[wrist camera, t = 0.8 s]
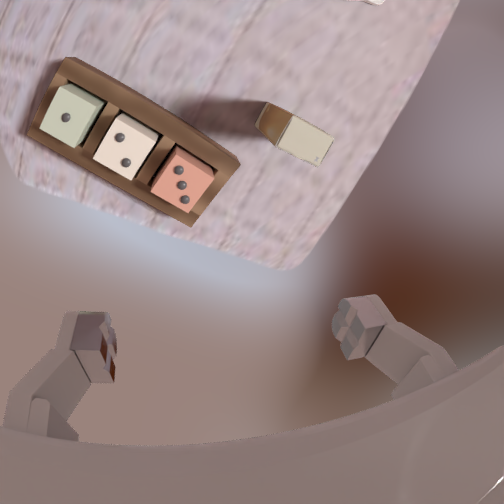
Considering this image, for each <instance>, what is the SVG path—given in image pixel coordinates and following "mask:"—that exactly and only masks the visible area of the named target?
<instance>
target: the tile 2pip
mask: <svg viewBox="0 0 504 504" xmlns="http://www.w3.org/2000/svg"><path fill="white" fill-rule="evenodd" d="M158 135H159V133H158V132H157V131H155V130H153V129H152V128H150V127H148V126H147V125H145V124H143V123H142V122H140V121H138V120H137V119H135V118H133V117H132V116H130V115H128V114H127V113H125V112H123V113H122V114H121V115H119V116H118V117H117V118H116V119H115V120H114V122H113V124H112V125H111V127H110V129H109V131H108V132H107V134H106V136H105V137H104V139H103V141H102V143H101V145H100V146H99V148H98V150H97V152H96V154H95V156H94V157H93V159H94V160H96V161H98V162H99V163H101V164H103V165H105V166H106V167H108V168H110V169H112V170H113V171H115V172H117V173H119V174H120V175H122V176H124V177H126V178H127V179H129V180H132V179H133V177H134V175H135V174H136V172H137V170H138V169H139V167H140V166H141V164H142V163H143V161H144V159H145V158H146V156H147V155H148V153H149V152H150V150H151V149H152V147H153V146H154V144H155V143H156V141H157V138H158Z"/></svg>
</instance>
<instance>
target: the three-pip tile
mask: <svg viewBox="0 0 504 504" xmlns="http://www.w3.org/2000/svg"><path fill="white" fill-rule="evenodd" d="M213 180H214V175H213V171H212V167H211V166H210V165H209V164H207V163H205V162H204V161H202V160H201V159H199V158H198V157H196V156H195V155H193V154H192V153H190V152H188V151H187V150H185V149H184V148H182V147H181V146H179V145H176V146H175V148H174V149H173V150H172V152H171V153H170V155H169V156H168V158H167V159H166V160H165V162H164V163H163V165H162V166H161V168H160V169H159V171H158V172H157V174H156V175H155V177H154V179H153V183H152V188H151V192H152V193H154V194H155V195H157V196H159V197H161V198H162V199H164V200H166V201H168V202H169V203H171V204H173V205H175V206H176V207H178V208H180V209H182V210H183V211H185V212H187V213H189V212H190V210H191V209H192V208H193V206H194V205H195V204H196V202H197V201H198V200H199V198H200V197H201V196H202V194H203V193H204V192H205V190H206V189H207V188H208V187H209V185H210V184H211V183H212V181H213Z"/></svg>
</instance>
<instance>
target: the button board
mask: <svg viewBox="0 0 504 504" xmlns="http://www.w3.org/2000/svg"><path fill="white" fill-rule="evenodd" d="M73 83H76V84H77V85H79V86H81V87H83V88H85V89H86V90H88V91H90V92H92V93H94V94H95V95H97V96H99V97H101V98H102V99H104V100H106V101H108V104H107V105H106V107H105V108H104V110H103V112H102V113H101V115H100V117H99V119H98V120H97V122H96V124H95V126H94V127H93V129H92V131H91V133H90V135H89V137H88V138H86V139H84V140H83V141H82V142H81V143H80V144H79V145H77V146H76V147H75V148H73V147H71V146H69V145H68V144H66V143H64V142H62V141H61V140H59V139H57V138H55V137H54V136H52V135H50V134H48V133H47V132H45V131H43V130H41V129H39V128H40V126H41V124H42V121H43V119H44V117H45V115H46V113H47V111H48V108H49V106H50V104H51V102H52V100H53V98H54V96H55V95H56V93H57V91H58V89H59V87H60V86H64V85H68V84H73ZM121 110H123V111H125V112H126V113H128V114H130V115H132V116H133V117H135V118H137V119H138V120H140V121H142V122H143V123H145V124H146V125H148V126H150V127H151V128H153V129H155V130H156V131H158V132H160V133H161V134H162V136H161V137H160V139H159V140H158V142H157V143H156V145H155V146H154V148H153V149H152V151H151V152H150V154H149V155H148V157H147V158H146V160H145V161H144V163H143V164H142V166H141V168H140V169H138V170H137V172H136V174H135V175H134V177H133V179H132V180H129V179H127V178H126V177H124V176H122V175H120V174H119V173H117V172H115V171H113V170H112V169H110V168H108V167H106V166H105V165H103V164H101V163H99V162H98V161H96V160H94V159H93V157H94V156H95V154H96V152H97V150H98V148H99V146H100V145H101V143H102V141H103V139H104V137H105V136H106V134H107V132H108V131H109V129H110V127H111V125H112V124H113V122H114V120H115V119H116V118H117V117H118V115H119V114H120V112H121ZM27 136H29V137H31V138H33V139H34V140H36V141H38V142H40V143H41V144H43V145H45V146H47V147H48V148H50V149H52V150H54V151H55V152H57V153H59V154H61V155H62V156H64V157H66V158H68V159H69V160H71V161H73V162H75V163H76V164H78V165H80V166H82V167H84V168H85V169H87V170H89V171H91V172H92V173H94V174H96V175H98V176H99V177H101V178H103V179H105V180H107V181H108V182H110V183H112V184H114V185H115V186H117V187H119V188H121V189H123V190H124V191H126V192H128V193H130V194H131V195H133V196H135V197H137V198H139V199H140V200H142V201H144V202H146V203H148V204H149V205H151V206H153V207H155V208H157V209H158V210H160V211H162V212H164V213H166V214H167V215H169V216H171V217H173V218H175V219H176V220H178V221H180V222H182V223H184V224H185V225H187V226H189V227H192V226H193V224H194V223H195V222H196V220H197V219H198V218H199V216H200V215H201V214H202V213H203V211H204V210H205V209H206V207H207V206H208V205H209V204H210V202H211V201H212V200H213V198H214V197H215V196H216V195H217V193H218V192H219V191H220V190H221V188H222V187H223V186H224V185H225V183H226V182H227V181H228V180H229V178H230V177H231V176H232V175H233V174H234V172H235V171H236V170H237V169H238V167H239V166H240V165H241V164H240V163H239V161H238V159H237V157H236V156H235V155H234V154H232V153H231V152H229V151H228V150H226V149H225V148H223V147H222V146H221V145H219V144H218V143H216V142H215V141H213V140H212V139H210V138H209V137H207V136H206V135H204V134H203V133H201V132H200V131H198V130H197V129H195V128H194V127H192V126H191V125H189V124H188V123H186V122H185V121H183V120H182V119H180V118H179V117H177V116H175V115H174V114H172V113H171V112H169V111H168V110H166V109H164V108H163V107H161V106H160V105H158V104H156V103H155V102H153V101H152V100H150V99H148V98H147V97H145V96H143V95H142V94H140V93H138V92H137V91H135V90H133V89H132V88H130V87H128V86H127V85H125V84H123V83H121V82H120V81H118V80H116V79H114V78H113V77H111V76H109V75H107V74H106V73H104V72H102V71H100V70H98V69H97V68H95V67H93V66H91V65H89V64H87V63H85V62H84V61H82V60H80V59H78V58H76V57H65V59H64V60H63V62H62V64H61V65H60V67H59V69H58V71H57V72H56V74H55V76H54V78H53V80H52V81H51V83H50V85H49V87H48V89H47V91H46V93H45V95H44V97H43V99H42V101H41V103H40V105H39V108H38V110H37V112H36V114H35V116H34V119H33V121H32V123H31V126H30V128H29V131H28V133H27ZM175 142H176V143H177V144H179V145H180V146H182V147H183V148H185V149H187V150H188V151H190V152H191V153H193V154H194V155H196V156H198V157H199V158H201V159H202V160H204V161H205V162H207V163H208V164H210V165H211V166H212V171H213V175H214V180H213V181H212V183H211V184H210V185H209V187H208V188H207V189H206V190H205V192H204V193H203V194H202V196H201V197H200V198H199V200H198V201H197V202H196V204H195V205H194V206H193V208H192V209H191V210H190V212H189V213H187V212H185V211H183V210H182V209H180V208H178V207H176V206H175V205H173V204H171V203H169V202H168V201H166V200H164V199H162V198H161V197H159V196H157V195H155V194H154V193H152V192H151V188H152V183H153V179H154V177H152V176H153V174H154V173H155V171H156V170H157V168H158V167H159V165H160V164H161V162H162V161H163V159H164V158H165V157H166V155H167V154H168V152H169V151H170V149H171V148H172V147H173V145H174V144H175Z"/></svg>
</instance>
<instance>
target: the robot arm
mask: <svg viewBox="0 0 504 504" xmlns="http://www.w3.org/2000/svg"><path fill="white" fill-rule="evenodd" d="M348 1H364V2H366V3H369V4H372V5H375V6H378V5H381V4H383V2H384V1H385V0H348ZM338 308H339V311H338V312H337V313H336V314H335V315H334V317H333V320H332V331H333V334H334V336H335V338H337V339H338V340H339V341H341V346H340V347H341V349H342V351H343V353H344V355H345V357H346V359H347V360H351V359H356V358H361V357H365V358H366V359H367V360H369V361H370V362H371V363H372V364H374V365H375V366H376V367H377V368H378V369H380V370H381V371H382V372H383V373H385V374H386V375H387V376H388V377H390V378H391V379H392V380H393V381H394V382H396V383H397V384H398V386H397V387H396V388H395V389H394V390H393V391H392V394H391V395H392V397H393V399H394V400H392V401H390V402H387V403H384V404H382V405H379V406H376V407H373V408H370V409H367V410H364V411H361V412H358V413H355V414H352V415H349V416H345V417H342V418H339V419H335V420H332V421H328V422H325V423H320V424H317V425H313V426H309V427H305V428H300V429H296V430H291V431H287V432H281V433H277V434H271V435H266V436H260V437H254V438H248V439H240V440H232V441H225V442H214V443H203V444H189V445H167V446H135V445H112V444H111V445H110V444H98V443H88V442H79V441H78V436H79V435H78V433H77V432H76V431H75V430H74V429H73V428H72V427H71V426H70V425H69V424H68V423H67V422H66V421H67V420H68V418H69V417H70V415H71V414H72V412H73V411H74V409H75V408H76V406H77V405H78V403H79V402H80V400H81V399H82V397H83V396H84V394H85V393H86V391H87V389H88V388H89V387H90V385H91V383H114V379H115V364H114V362H113V359H114V358H115V357H116V353H117V342H116V341H117V340H116V335H115V331H114V329H113V328H112V327H111V318H110V314H109V313H108V312H86V311H67V312H66V313H65V314H64V317H63V320H62V324H61V327H60V331H59V335H58V338H57V342H56V346H55V349H51V350H50V351H49V352H48V353H47V354H46V355H45V356H44V357H43V358H42V359H41V360H40V361H39V362H38V363H37V364H36V365H35V366H34V367H33V368H32V369H31V370H30V371H29V372H28V373H27V374H26V375H25V376H24V377H23V378H22V379H21V380H20V381H19V382H18V383H17V384H16V385H15V387H14V388H13V389H12V390H11V391H10V392H9V396H8V401H7V406H6V411H5V417H4V422H3V427H1V426H0V504H504V346H500V347H498V348H497V349H495V350H494V351H492V352H490V353H489V354H487V355H485V356H484V357H482V358H480V359H478V360H477V361H475V362H473V363H472V364H470V365H468V366H466V367H464V368H462V369H460V370H458V368H457V367H456V366H455V364H454V362H453V361H452V359H451V358H450V356H449V355H448V353H447V352H446V351H445V349H444V348H443V347H441V346H440V345H438V344H436V343H435V342H433V341H431V340H430V339H428V338H426V337H424V336H423V335H421V334H419V333H418V332H416V331H414V330H413V329H411V328H409V327H408V326H406V325H404V324H403V323H401V322H398V323H397V322H396V320H395V319H394V317H393V316H392V314H391V313H390V311H389V310H388V309H387V307H386V306H385V305H384V303H383V302H382V300H381V299H380V298H379V297H378V296H377V295H368V296H361V297H352V298H345V299H342V300H341V301H340V303H339V305H338Z"/></svg>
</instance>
